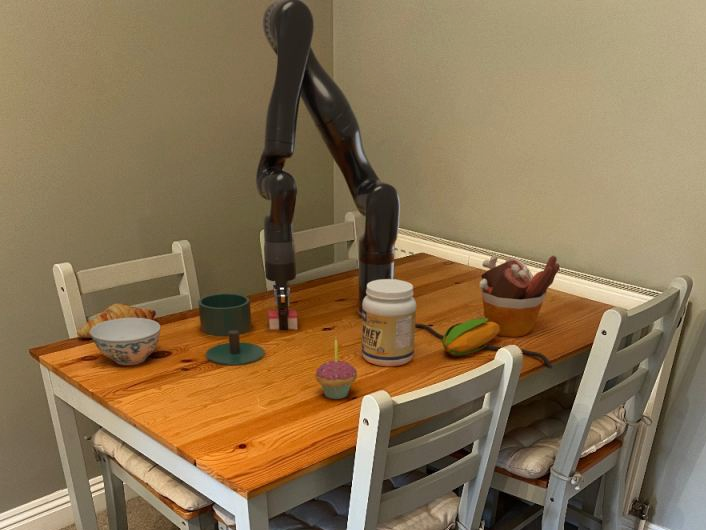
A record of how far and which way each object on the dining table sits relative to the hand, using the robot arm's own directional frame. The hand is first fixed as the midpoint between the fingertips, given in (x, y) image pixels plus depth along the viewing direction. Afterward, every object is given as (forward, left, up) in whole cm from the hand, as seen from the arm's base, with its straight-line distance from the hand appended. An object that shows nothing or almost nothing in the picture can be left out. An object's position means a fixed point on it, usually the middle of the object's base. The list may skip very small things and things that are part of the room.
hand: (283, 326), depth 190 cm
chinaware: (+17, +37, 0) cm, 40 cm away
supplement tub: (-33, +6, 0) cm, 33 cm away
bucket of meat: (-52, -27, 0) cm, 58 cm away
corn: (-48, -9, 0) cm, 48 cm away
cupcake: (-33, +30, 0) cm, 44 cm away
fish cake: (0, 0, 0) cm, 0 cm away
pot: (+11, +9, 0) cm, 14 cm away
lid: (-2, +23, 0) cm, 23 cm away
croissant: (+34, +23, 0) cm, 41 cm away
